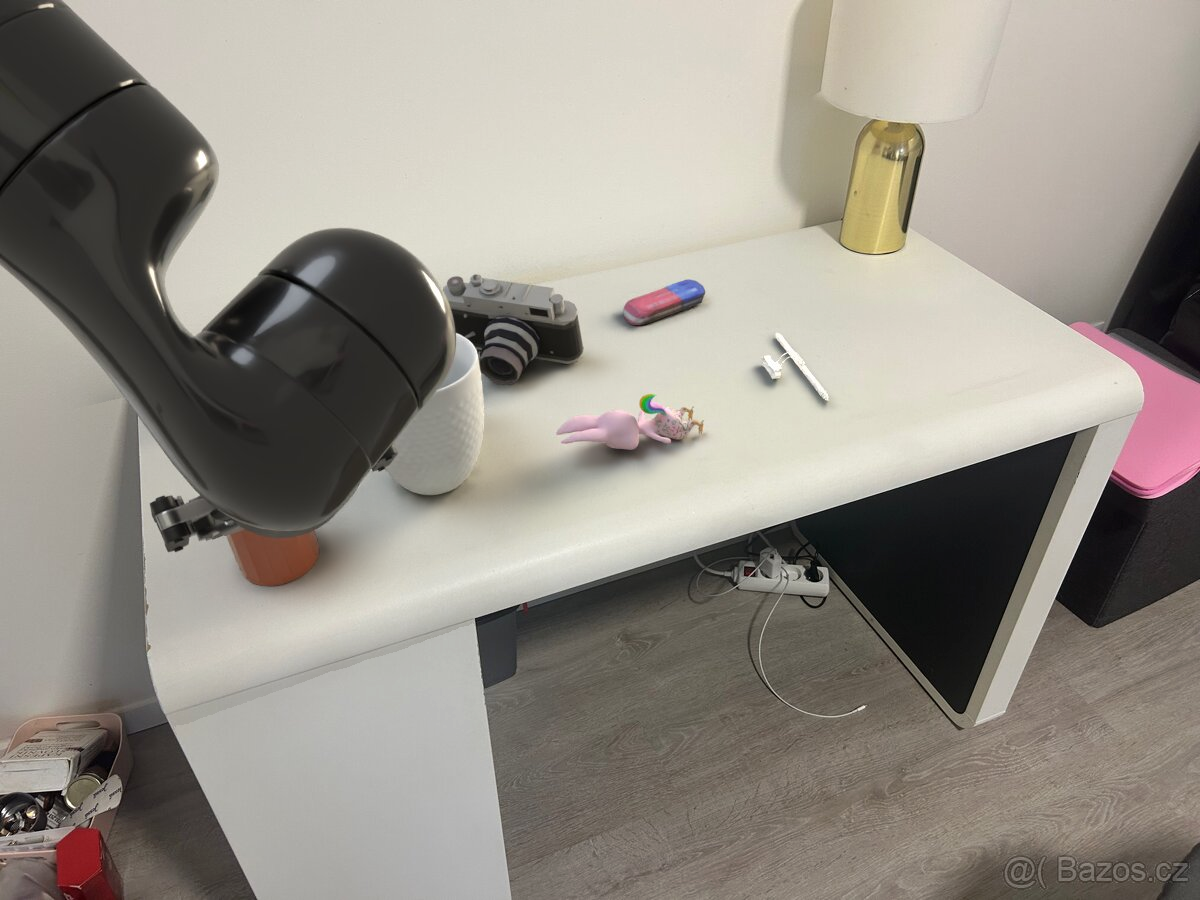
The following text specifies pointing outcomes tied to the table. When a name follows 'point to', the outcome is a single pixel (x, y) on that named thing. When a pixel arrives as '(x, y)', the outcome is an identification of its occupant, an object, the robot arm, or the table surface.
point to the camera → (513, 324)
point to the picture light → (775, 367)
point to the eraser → (663, 302)
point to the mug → (444, 431)
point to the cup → (273, 556)
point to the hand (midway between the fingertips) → (274, 499)
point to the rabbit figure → (630, 426)
